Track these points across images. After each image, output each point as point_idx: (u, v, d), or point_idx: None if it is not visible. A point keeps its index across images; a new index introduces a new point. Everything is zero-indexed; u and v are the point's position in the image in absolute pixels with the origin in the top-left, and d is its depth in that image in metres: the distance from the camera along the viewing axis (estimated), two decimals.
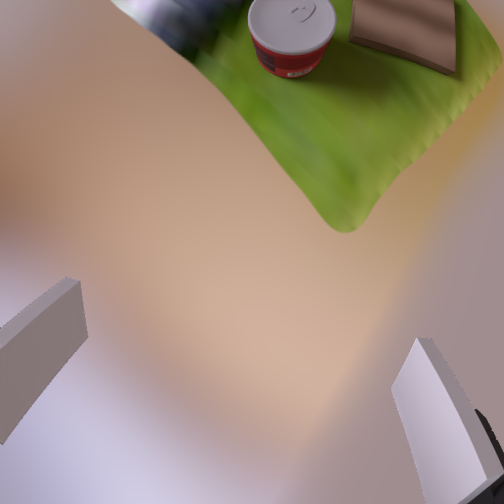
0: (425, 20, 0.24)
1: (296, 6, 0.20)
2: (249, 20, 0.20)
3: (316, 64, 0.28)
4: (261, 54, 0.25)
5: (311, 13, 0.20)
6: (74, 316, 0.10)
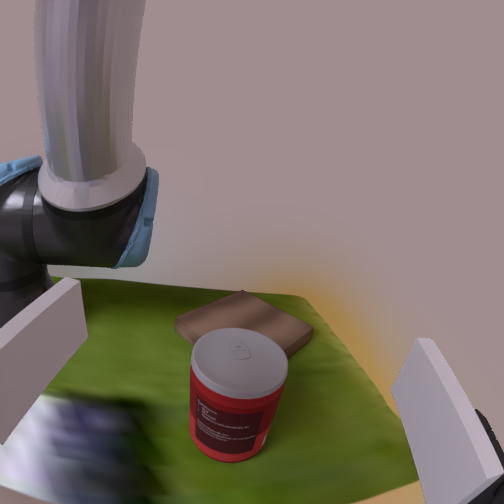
0: (262, 320, 0.43)
1: (229, 350, 0.24)
2: (216, 384, 0.19)
3: None
4: (242, 427, 0.21)
5: (246, 347, 0.24)
6: (74, 316, 0.10)
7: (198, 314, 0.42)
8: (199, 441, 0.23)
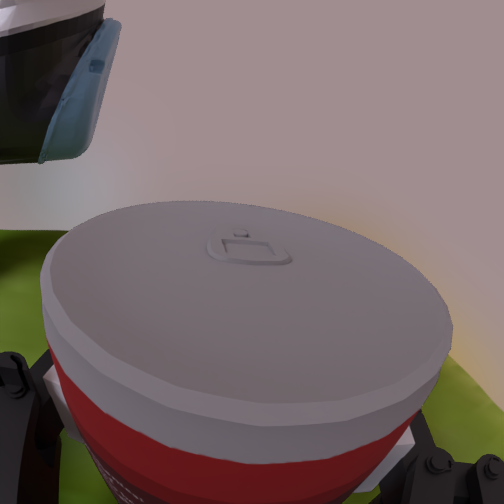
0: None
1: (212, 242, 0.07)
2: (93, 352, 0.02)
3: None
4: None
5: (270, 238, 0.07)
6: None
7: None
8: None
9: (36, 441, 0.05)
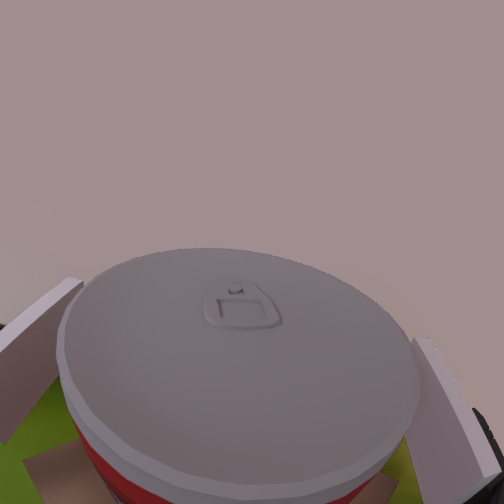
0: None
1: (208, 301, 0.07)
2: (115, 442, 0.03)
3: None
4: None
5: (263, 293, 0.08)
6: None
7: (80, 459, 0.10)
8: None
9: None
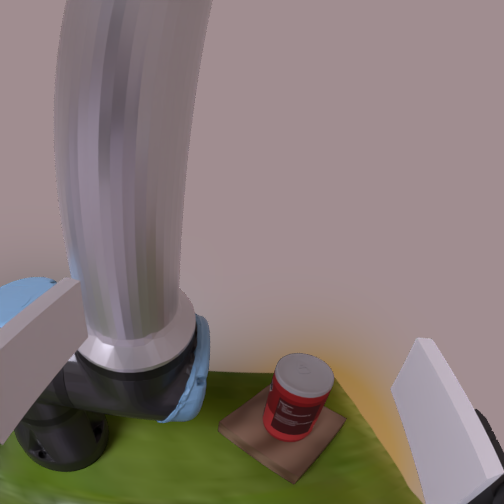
0: None
1: (297, 368, 0.37)
2: (296, 390, 0.32)
3: None
4: (306, 415, 0.34)
5: (306, 365, 0.37)
6: (74, 316, 0.10)
7: (240, 415, 0.40)
8: (273, 429, 0.36)
9: None
